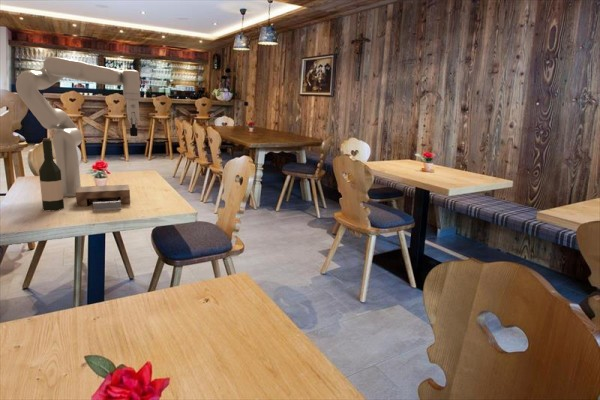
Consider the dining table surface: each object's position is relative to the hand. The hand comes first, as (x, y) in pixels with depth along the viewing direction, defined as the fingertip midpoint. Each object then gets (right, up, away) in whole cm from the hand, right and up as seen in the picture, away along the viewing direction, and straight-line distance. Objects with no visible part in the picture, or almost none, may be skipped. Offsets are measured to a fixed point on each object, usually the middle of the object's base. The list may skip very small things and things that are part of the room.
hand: (133, 136), depth 212 cm
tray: (-6, -34, -16) cm, 38 cm away
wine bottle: (-26, -35, -23) cm, 49 cm away
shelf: (-10, -32, -10) cm, 35 cm away
